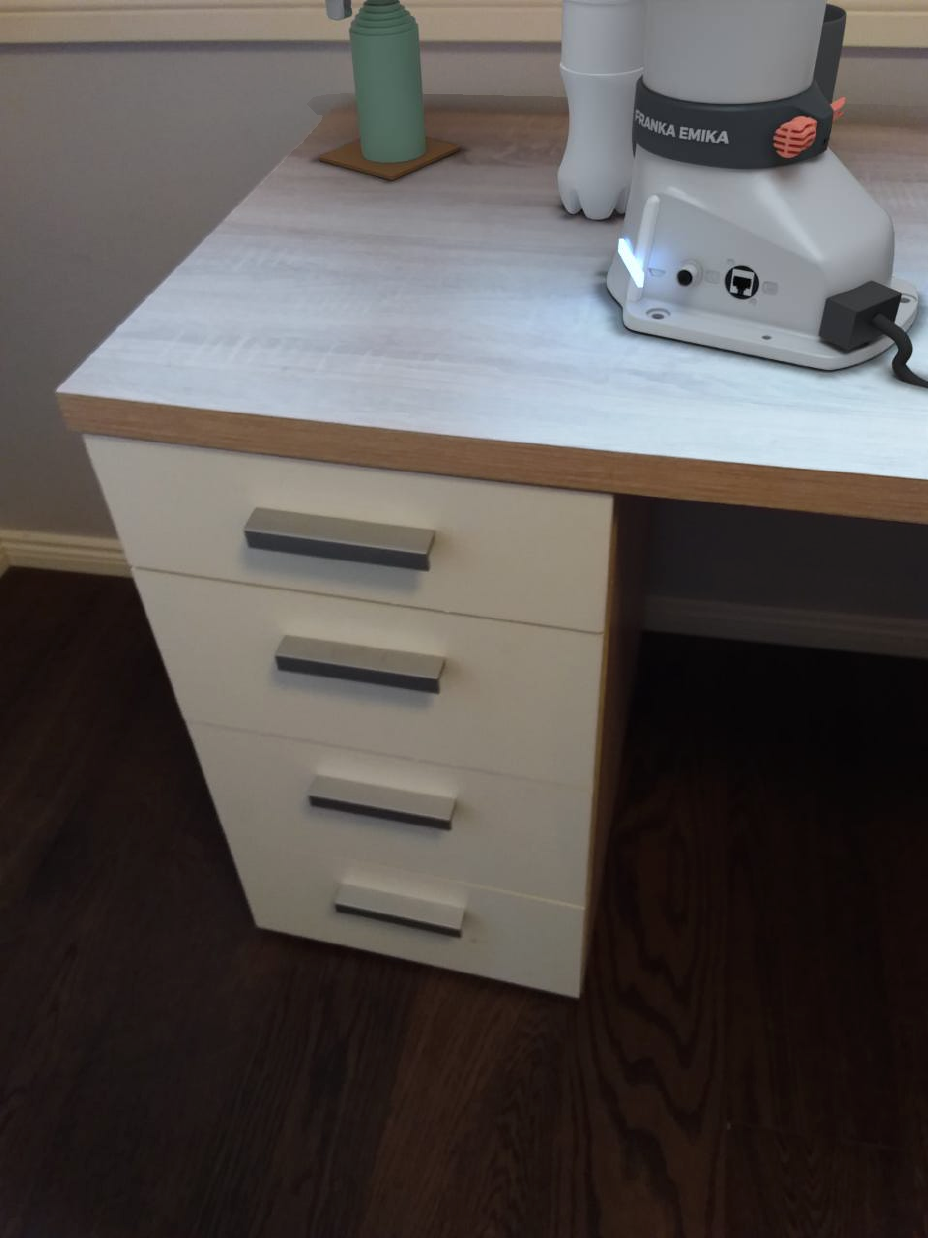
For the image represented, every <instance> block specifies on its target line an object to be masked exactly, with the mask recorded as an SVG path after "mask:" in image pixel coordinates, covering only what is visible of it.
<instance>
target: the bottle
mask: <svg viewBox="0 0 928 1238" xmlns="http://www.w3.org/2000/svg"><path fill="white" fill-rule="evenodd" d="M419 31H420V30H419V24H418V23H417V21H416V17H415V16H414V15H411V12H410V11H409V10H407V9H406V7H405V5H403V4H401V1H400V0H365V1H363V3H362V6H361V7H359V9H358V13H356V14H355V15H354V19H353V20H352V21H350V27H349V29H348V36H349V43H350V44H349V45H350V53H351V56H350V57H351V63H352V64H351V65H352V74H353V81H354V82H353V83H354V94H355V101H356V102H355V103H356V112H357V120H358V121H357V122H358V131H359V132H358V133H359V140H360V141H361V151H362V156H363V157H364V158H365V159H367V160H369V161H373V162H378V163H400V162H406V161H410V160H414V159H417V158H419V157H421V156H422V155H424V154H425V152H426V139H425V138H426V125H425V124H426V123H425V109H424V92H423V78H422V77H423V75H422V61H421V48H420V32H419Z"/></svg>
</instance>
